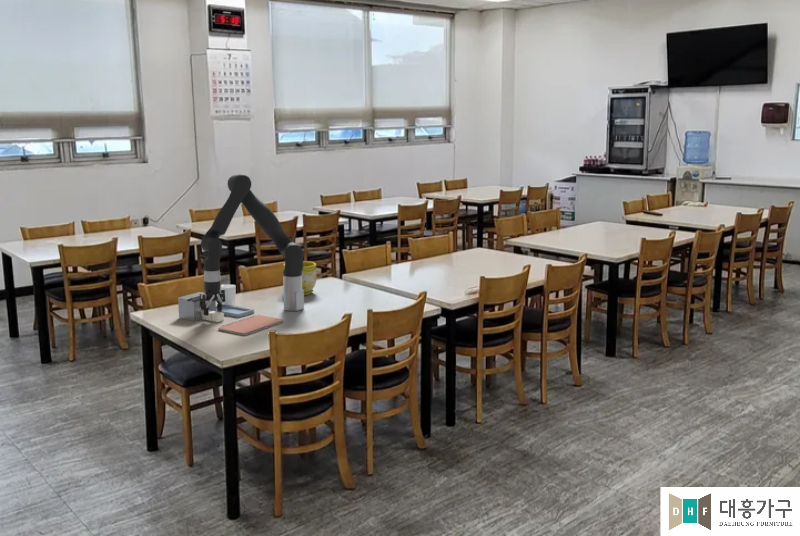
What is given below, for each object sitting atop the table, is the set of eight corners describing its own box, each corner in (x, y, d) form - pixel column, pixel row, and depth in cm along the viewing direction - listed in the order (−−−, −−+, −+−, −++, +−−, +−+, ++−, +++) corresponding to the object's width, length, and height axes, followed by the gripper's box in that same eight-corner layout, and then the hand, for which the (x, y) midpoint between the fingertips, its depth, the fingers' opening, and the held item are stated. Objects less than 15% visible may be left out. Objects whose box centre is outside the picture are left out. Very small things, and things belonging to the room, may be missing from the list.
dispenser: (215, 314, 352) (215, 294, 350) (194, 321, 340) (193, 299, 338) (200, 311, 357) (199, 291, 355) (179, 318, 345) (178, 297, 343)
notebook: (256, 318, 349) (256, 313, 349) (284, 323, 341) (284, 319, 341) (215, 331, 326) (215, 326, 326) (244, 337, 318) (244, 332, 318)
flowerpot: (323, 294, 397) (322, 264, 394) (294, 298, 386) (294, 268, 383) (305, 288, 411) (304, 259, 408) (277, 292, 399) (276, 263, 396)
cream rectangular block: (224, 320, 343) (223, 312, 342) (218, 322, 339) (217, 314, 339) (202, 315, 350) (202, 308, 349) (196, 317, 346) (195, 310, 345)
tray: (254, 312, 356) (253, 309, 356) (238, 317, 347) (238, 314, 346) (223, 307, 366) (223, 303, 366) (207, 312, 357) (207, 308, 356)
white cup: (228, 308, 365) (227, 288, 363) (216, 305, 369) (216, 286, 367) (239, 304, 372) (238, 285, 370) (228, 302, 376) (227, 283, 374)
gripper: (206, 283, 332) (207, 317, 335) (228, 278, 344) (229, 311, 347) (194, 281, 335) (195, 315, 339) (217, 276, 348) (217, 309, 351)
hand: (213, 313), depth 343 cm, fingers open, 8 cm apart
